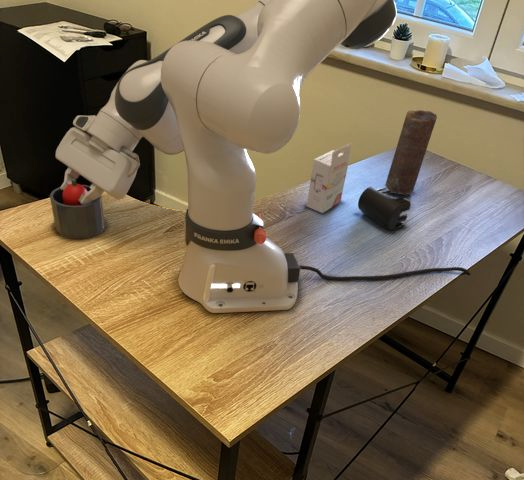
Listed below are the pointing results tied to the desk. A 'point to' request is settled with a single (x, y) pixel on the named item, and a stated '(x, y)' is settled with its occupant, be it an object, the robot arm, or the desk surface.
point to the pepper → (73, 193)
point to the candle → (410, 151)
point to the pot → (77, 216)
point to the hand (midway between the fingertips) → (73, 198)
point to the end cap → (383, 207)
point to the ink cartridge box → (328, 179)
